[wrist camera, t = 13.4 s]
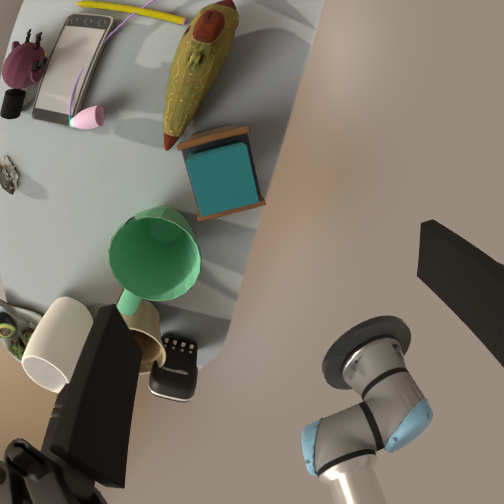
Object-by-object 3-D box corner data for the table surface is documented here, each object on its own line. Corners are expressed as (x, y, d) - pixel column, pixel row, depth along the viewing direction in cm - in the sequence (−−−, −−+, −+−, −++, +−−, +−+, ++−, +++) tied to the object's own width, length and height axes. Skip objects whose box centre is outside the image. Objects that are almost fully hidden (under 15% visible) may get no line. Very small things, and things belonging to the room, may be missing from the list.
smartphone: (115, 16, 22) (71, 128, 28) (117, 19, 23) (75, 127, 29) (68, 12, 20) (29, 118, 26) (72, 14, 21) (33, 117, 26)
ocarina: (188, 155, 33) (180, 170, 24) (147, 143, 31) (124, 154, 23) (249, 11, 25) (264, -21, 17) (208, -1, 24) (209, -37, 15)
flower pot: (103, 293, 40) (88, 331, 32) (159, 283, 40) (152, 323, 33) (124, 337, 44) (116, 376, 37) (176, 330, 45) (174, 370, 37)
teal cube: (251, 187, 23) (259, 202, 19) (202, 200, 23) (201, 217, 19) (240, 140, 21) (246, 145, 18) (189, 152, 21) (185, 160, 17)
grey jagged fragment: (-11, 166, 26) (-2, 151, 26) (-2, 163, 28) (7, 150, 28) (5, 197, 28) (15, 183, 28) (15, 193, 30) (24, 180, 30)
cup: (47, 290, 38) (9, 349, 25) (89, 290, 39) (57, 356, 27) (62, 329, 42) (35, 390, 29) (102, 332, 43) (81, 398, 30)
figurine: (25, 130, 24) (55, 39, 18) (-24, 122, 19) (0, 30, 13) (39, 108, 29) (68, 32, 23) (-4, 100, 24) (21, 23, 18)
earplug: (72, 144, 27) (83, 143, 29) (272, 28, 24) (270, 37, 26) (40, 68, 22) (51, 71, 25) (220, -41, 20) (221, -31, 22)
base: (259, 194, 24) (266, 205, 22) (199, 209, 24) (198, 222, 22) (244, 125, 22) (249, 127, 19) (180, 141, 21) (176, 145, 19)
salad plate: (69, 309, 40) (59, 327, 36) (84, 375, 48) (79, 392, 44) (-11, 288, 36) (-23, 302, 32) (12, 354, 43) (4, 368, 39)
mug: (151, 174, 33) (131, 197, 25) (217, 213, 37) (220, 247, 28) (106, 263, 38) (84, 305, 29) (164, 294, 41) (157, 340, 33)
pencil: (187, 19, 25) (187, 17, 24) (184, 26, 25) (183, 23, 24) (77, 1, 20) (74, -2, 19) (73, 7, 20) (70, 5, 20)
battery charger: (202, 338, 46) (198, 391, 35) (196, 354, 47) (192, 406, 37) (160, 328, 44) (147, 379, 34) (157, 344, 46) (145, 395, 35)
